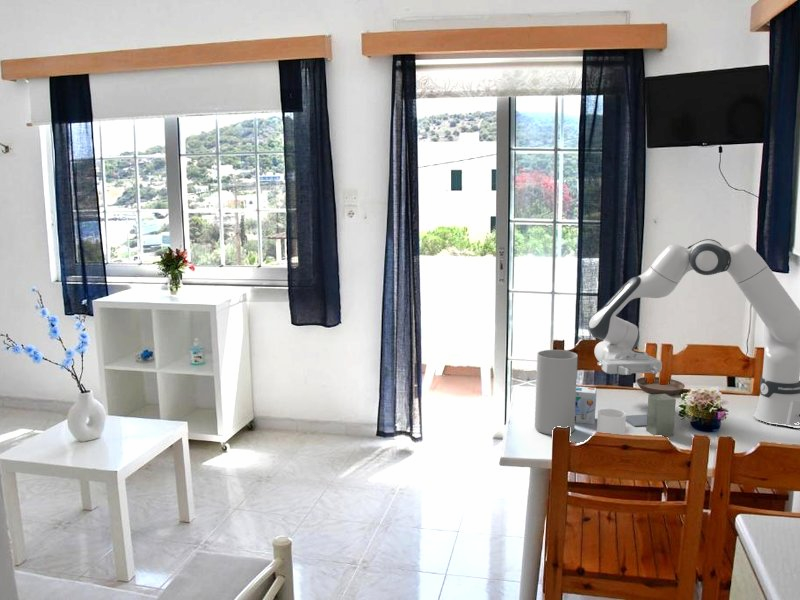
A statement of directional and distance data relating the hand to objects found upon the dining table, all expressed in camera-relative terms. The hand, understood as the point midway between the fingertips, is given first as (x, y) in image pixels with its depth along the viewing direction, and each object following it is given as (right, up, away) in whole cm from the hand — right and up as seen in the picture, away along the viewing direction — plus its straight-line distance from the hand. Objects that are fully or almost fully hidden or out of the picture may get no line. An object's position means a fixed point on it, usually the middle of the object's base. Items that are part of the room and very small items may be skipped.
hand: (642, 372), depth 245 cm
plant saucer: (+20, -11, +39) cm, 45 cm away
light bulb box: (-20, -17, +4) cm, 27 cm away
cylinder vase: (-31, -18, -6) cm, 36 cm away
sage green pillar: (+2, -19, -9) cm, 21 cm away
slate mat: (0, -17, +3) cm, 17 cm away
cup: (-16, -20, -18) cm, 31 cm away
